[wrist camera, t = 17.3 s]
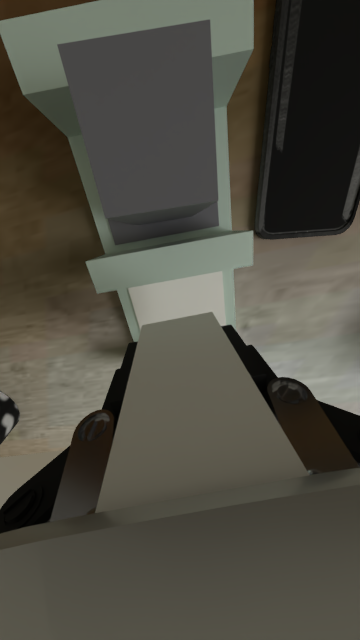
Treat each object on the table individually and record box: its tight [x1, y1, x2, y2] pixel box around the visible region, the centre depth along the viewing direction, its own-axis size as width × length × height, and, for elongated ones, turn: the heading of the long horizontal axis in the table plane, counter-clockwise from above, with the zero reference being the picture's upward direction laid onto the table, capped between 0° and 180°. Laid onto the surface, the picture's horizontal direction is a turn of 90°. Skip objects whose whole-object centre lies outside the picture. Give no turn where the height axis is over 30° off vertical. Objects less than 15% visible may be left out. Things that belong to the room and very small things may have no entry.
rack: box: [0, 0, 254, 342], centre depth 14 cm, size 10×20×5 cm, turn 10°
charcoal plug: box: [57, 19, 218, 225], centre depth 9 cm, size 4×4×8 cm
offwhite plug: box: [95, 312, 309, 513], centre depth 8 cm, size 4×4×8 cm
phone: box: [255, 0, 360, 239], centre depth 13 cm, size 8×1×15 cm
